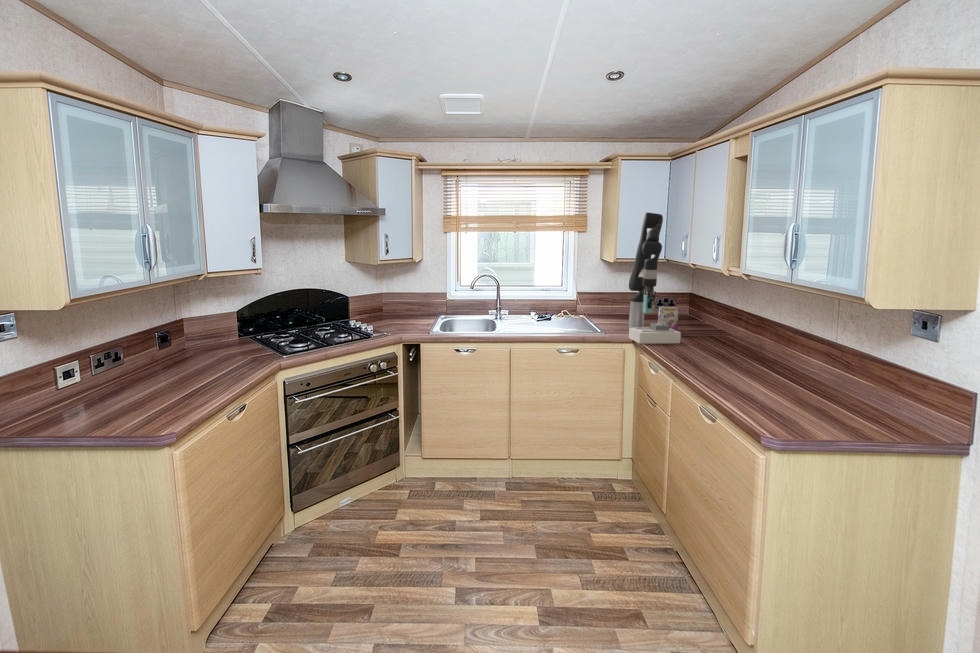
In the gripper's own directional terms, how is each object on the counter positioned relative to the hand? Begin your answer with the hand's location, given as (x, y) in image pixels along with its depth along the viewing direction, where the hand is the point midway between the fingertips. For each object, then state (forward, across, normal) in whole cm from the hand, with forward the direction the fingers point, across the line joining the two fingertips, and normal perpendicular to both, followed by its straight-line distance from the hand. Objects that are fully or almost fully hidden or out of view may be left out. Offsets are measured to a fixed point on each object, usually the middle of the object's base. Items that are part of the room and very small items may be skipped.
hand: (647, 307), depth 296 cm
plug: (+3, 0, 0) cm, 3 cm away
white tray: (+19, 0, -5) cm, 20 cm away
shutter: (+13, 0, -8) cm, 15 cm away
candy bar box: (+19, +20, -22) cm, 35 cm away
